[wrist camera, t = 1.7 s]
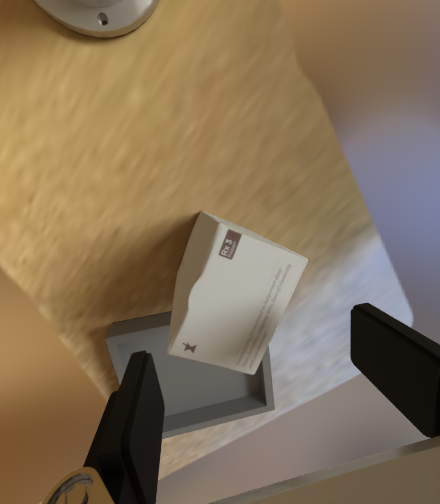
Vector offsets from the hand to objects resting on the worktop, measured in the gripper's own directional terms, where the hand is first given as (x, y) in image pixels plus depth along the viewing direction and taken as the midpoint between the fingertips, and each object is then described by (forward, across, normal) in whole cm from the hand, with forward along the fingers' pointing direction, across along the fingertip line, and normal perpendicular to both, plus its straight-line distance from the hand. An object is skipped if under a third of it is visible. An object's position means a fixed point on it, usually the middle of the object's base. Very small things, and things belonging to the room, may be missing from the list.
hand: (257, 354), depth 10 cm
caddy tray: (+18, +4, +14) cm, 23 cm away
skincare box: (+18, 0, -1) cm, 18 cm away
